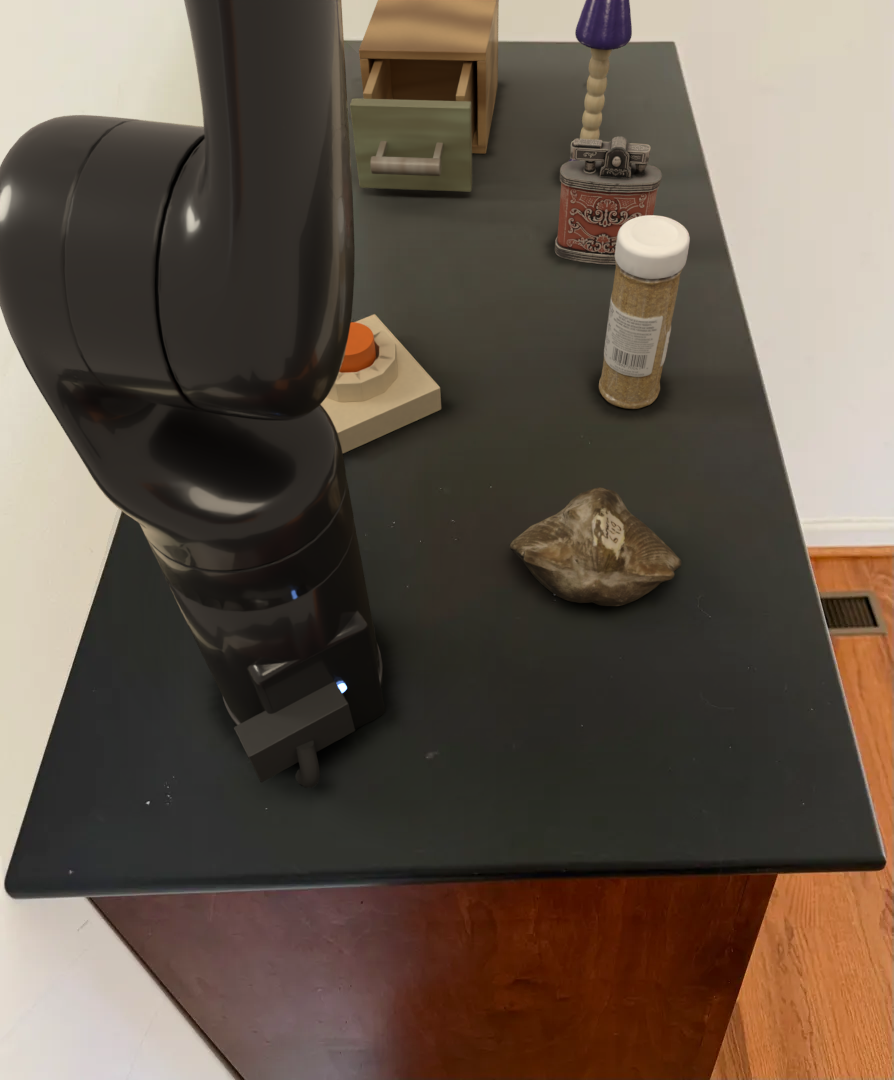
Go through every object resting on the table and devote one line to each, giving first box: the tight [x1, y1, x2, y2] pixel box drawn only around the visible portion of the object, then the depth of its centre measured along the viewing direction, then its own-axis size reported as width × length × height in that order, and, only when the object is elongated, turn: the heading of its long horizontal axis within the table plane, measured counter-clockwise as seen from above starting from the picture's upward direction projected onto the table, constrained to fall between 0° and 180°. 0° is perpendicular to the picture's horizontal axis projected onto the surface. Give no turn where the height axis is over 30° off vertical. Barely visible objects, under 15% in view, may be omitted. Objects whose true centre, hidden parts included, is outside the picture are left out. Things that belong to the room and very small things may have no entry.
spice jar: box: [598, 214, 691, 410], centre depth 62 cm, size 5×5×13 cm
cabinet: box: [358, 0, 500, 154], centre depth 90 cm, size 14×12×10 cm
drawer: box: [349, 59, 477, 192], centre depth 83 cm, size 17×10×8 cm, turn 173°
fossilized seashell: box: [509, 487, 682, 607], centre depth 56 cm, size 8×7×10 cm
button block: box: [321, 313, 442, 454], centre depth 67 cm, size 10×9×4 cm
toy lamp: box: [568, 0, 633, 161], centre depth 79 cm, size 5×5×17 cm
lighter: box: [554, 136, 663, 265], centre depth 74 cm, size 8×3×10 cm, turn 80°
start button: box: [339, 321, 376, 373], centre depth 65 cm, size 4×4×2 cm
